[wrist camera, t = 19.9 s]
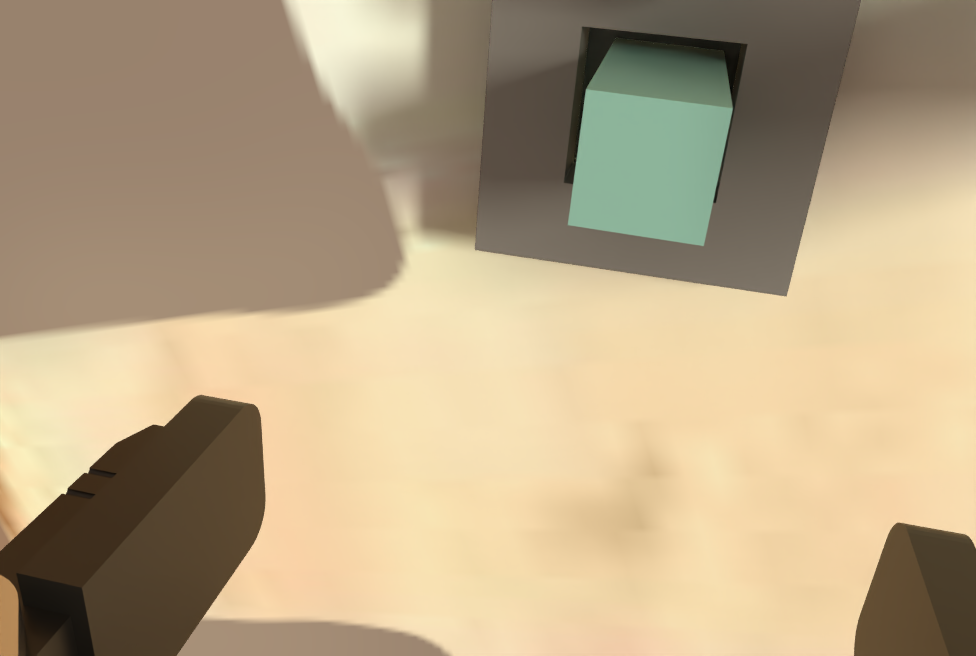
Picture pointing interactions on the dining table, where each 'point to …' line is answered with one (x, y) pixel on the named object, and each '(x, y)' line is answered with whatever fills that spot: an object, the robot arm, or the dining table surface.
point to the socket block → (747, 154)
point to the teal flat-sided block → (652, 141)
